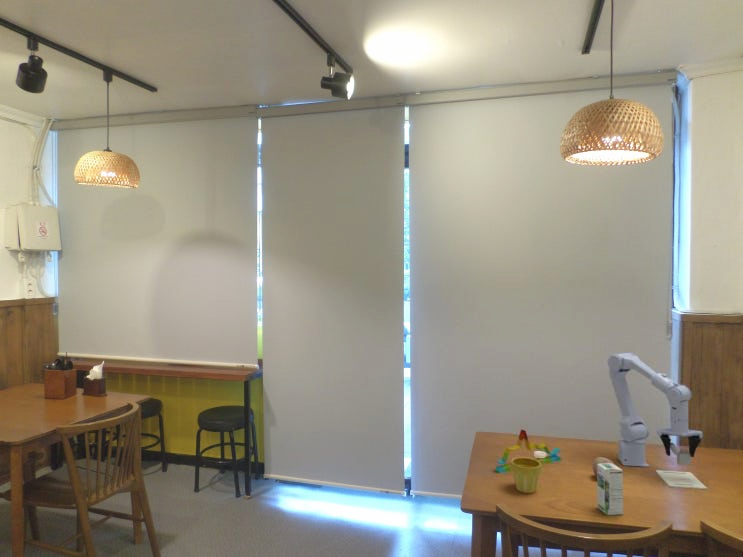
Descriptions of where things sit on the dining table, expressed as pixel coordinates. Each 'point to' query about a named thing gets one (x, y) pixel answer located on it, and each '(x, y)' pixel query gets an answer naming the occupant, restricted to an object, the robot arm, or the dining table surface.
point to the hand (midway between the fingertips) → (679, 455)
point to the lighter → (681, 455)
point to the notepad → (680, 479)
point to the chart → (547, 459)
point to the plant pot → (525, 473)
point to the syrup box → (610, 489)
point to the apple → (599, 461)
